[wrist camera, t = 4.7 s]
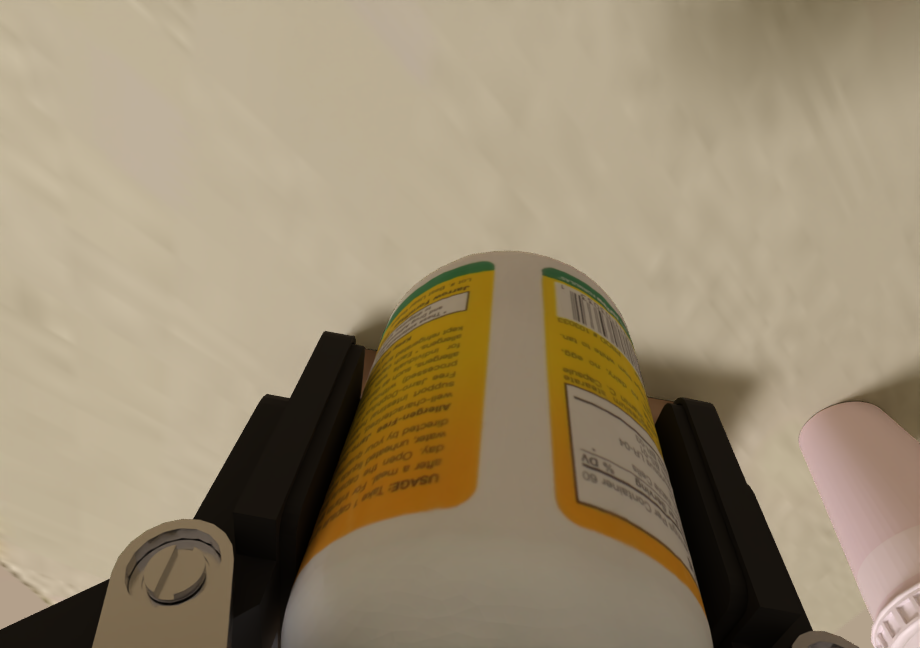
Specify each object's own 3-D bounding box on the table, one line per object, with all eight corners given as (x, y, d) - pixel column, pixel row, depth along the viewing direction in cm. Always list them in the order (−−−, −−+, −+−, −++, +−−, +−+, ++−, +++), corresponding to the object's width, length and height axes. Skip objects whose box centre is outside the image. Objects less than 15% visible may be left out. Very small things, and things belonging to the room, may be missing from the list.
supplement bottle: (656, 257, 11) (989, 1003, 3) (599, 450, 14) (704, 1094, 6) (383, 228, 11) (79, 881, 3) (383, 426, 14) (217, 1025, 6)
